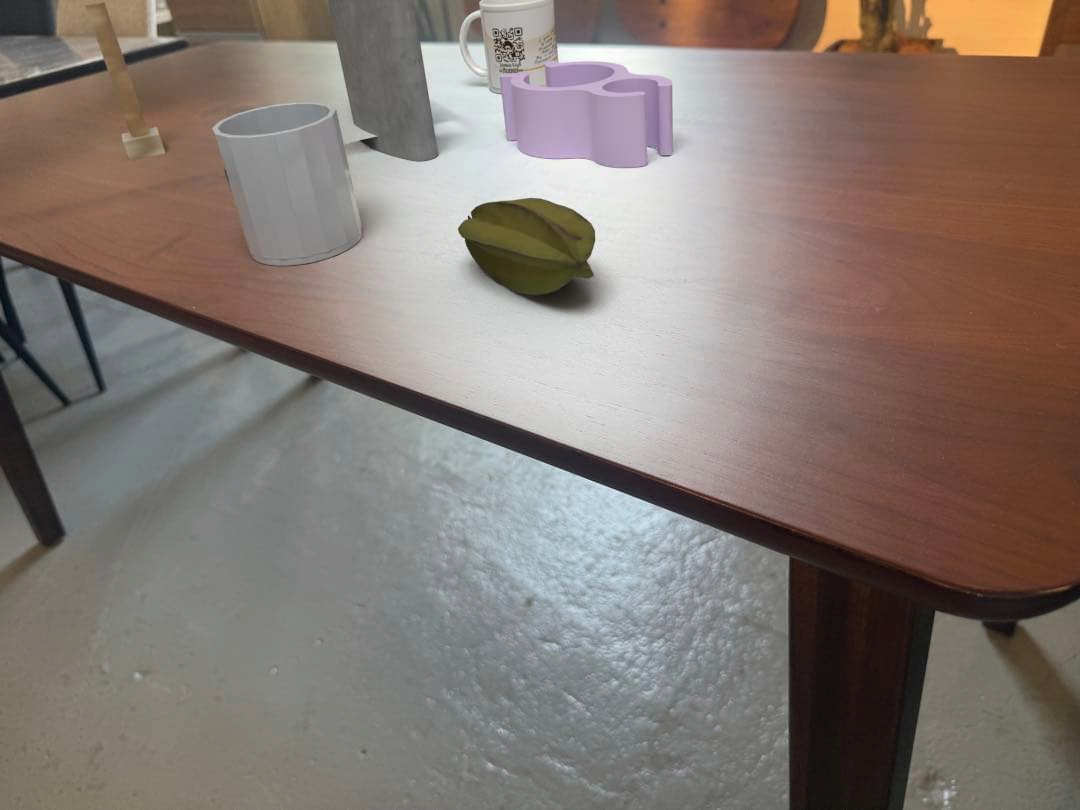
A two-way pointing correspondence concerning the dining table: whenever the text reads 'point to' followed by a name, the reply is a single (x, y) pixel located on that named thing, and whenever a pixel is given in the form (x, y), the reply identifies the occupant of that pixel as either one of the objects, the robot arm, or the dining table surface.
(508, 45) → the mug
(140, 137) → the brush
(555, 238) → the fruit
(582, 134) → the clip
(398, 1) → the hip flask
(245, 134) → the canister
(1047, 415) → the dining table surface
